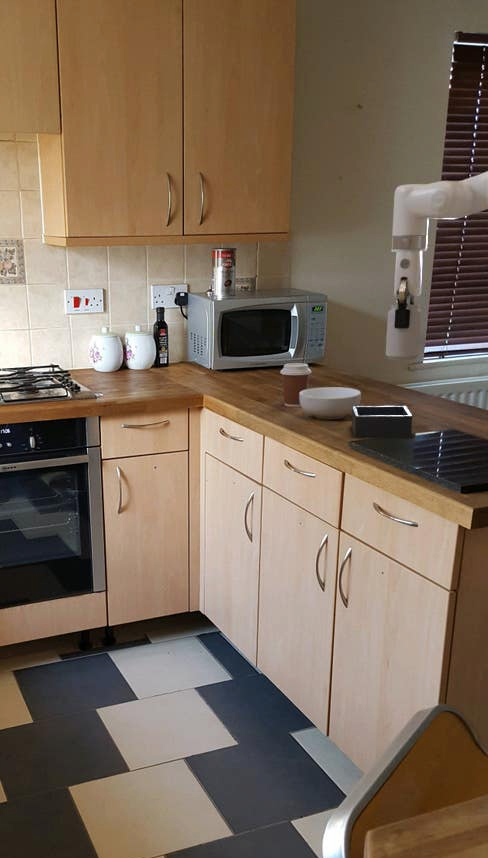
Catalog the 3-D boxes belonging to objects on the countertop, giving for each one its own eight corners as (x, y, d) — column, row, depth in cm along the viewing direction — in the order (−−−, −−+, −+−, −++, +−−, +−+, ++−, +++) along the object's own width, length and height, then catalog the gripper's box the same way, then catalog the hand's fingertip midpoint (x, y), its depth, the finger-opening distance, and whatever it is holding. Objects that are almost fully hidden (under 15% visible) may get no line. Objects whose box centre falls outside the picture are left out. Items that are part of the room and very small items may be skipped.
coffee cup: (286, 401, 269) (287, 362, 265) (314, 403, 265) (316, 363, 261) (275, 406, 262) (275, 366, 258) (303, 408, 257) (304, 367, 253)
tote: (404, 427, 228) (405, 405, 227) (410, 438, 216) (412, 415, 214) (351, 427, 230) (352, 406, 228) (354, 438, 218) (355, 416, 216)
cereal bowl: (287, 415, 249) (288, 390, 246) (338, 409, 254) (339, 385, 252) (319, 425, 234) (320, 399, 231) (372, 419, 239) (373, 393, 237)
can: (379, 359, 201) (381, 305, 198) (396, 355, 206) (399, 303, 202) (407, 361, 196) (411, 306, 192) (425, 357, 201) (429, 304, 197)
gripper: (422, 244, 184) (416, 330, 190) (430, 243, 199) (425, 323, 205) (385, 245, 187) (381, 330, 193) (397, 244, 202) (392, 322, 208)
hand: (404, 325), depth 199 cm, fingers closed on can, 7 cm apart
